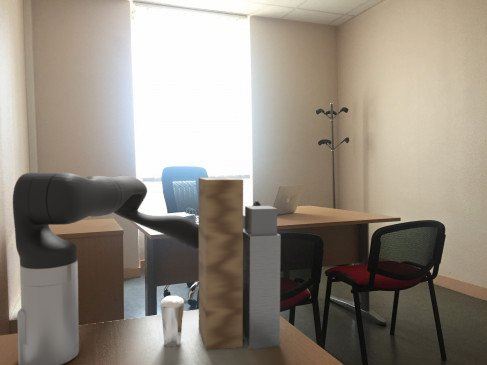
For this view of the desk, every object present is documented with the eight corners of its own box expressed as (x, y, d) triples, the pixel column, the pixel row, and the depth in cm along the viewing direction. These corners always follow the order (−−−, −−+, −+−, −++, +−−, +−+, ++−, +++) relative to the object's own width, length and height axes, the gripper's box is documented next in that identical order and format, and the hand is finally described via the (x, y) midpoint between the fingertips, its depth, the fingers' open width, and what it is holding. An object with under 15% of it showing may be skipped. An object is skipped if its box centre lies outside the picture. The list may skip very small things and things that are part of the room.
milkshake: (183, 350, 74) (183, 297, 74) (156, 347, 76) (156, 295, 75) (191, 339, 79) (191, 290, 78) (166, 336, 80) (166, 288, 79)
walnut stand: (206, 350, 74) (206, 179, 73) (198, 328, 84) (198, 177, 82) (242, 346, 76) (243, 179, 74) (231, 325, 86) (231, 177, 84)
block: (251, 235, 74) (251, 209, 74) (229, 220, 93) (229, 199, 92) (277, 234, 76) (277, 208, 75) (250, 220, 94) (250, 199, 94)
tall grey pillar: (249, 349, 75) (250, 236, 74) (235, 324, 86) (235, 226, 85) (279, 346, 76) (280, 235, 75) (261, 321, 88) (262, 225, 87)
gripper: (202, 219, 103) (212, 190, 88) (255, 217, 106) (273, 189, 92) (205, 246, 100) (215, 222, 85) (259, 244, 103) (279, 219, 88)
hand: (245, 205), depth 88 cm, fingers open, 5 cm apart
